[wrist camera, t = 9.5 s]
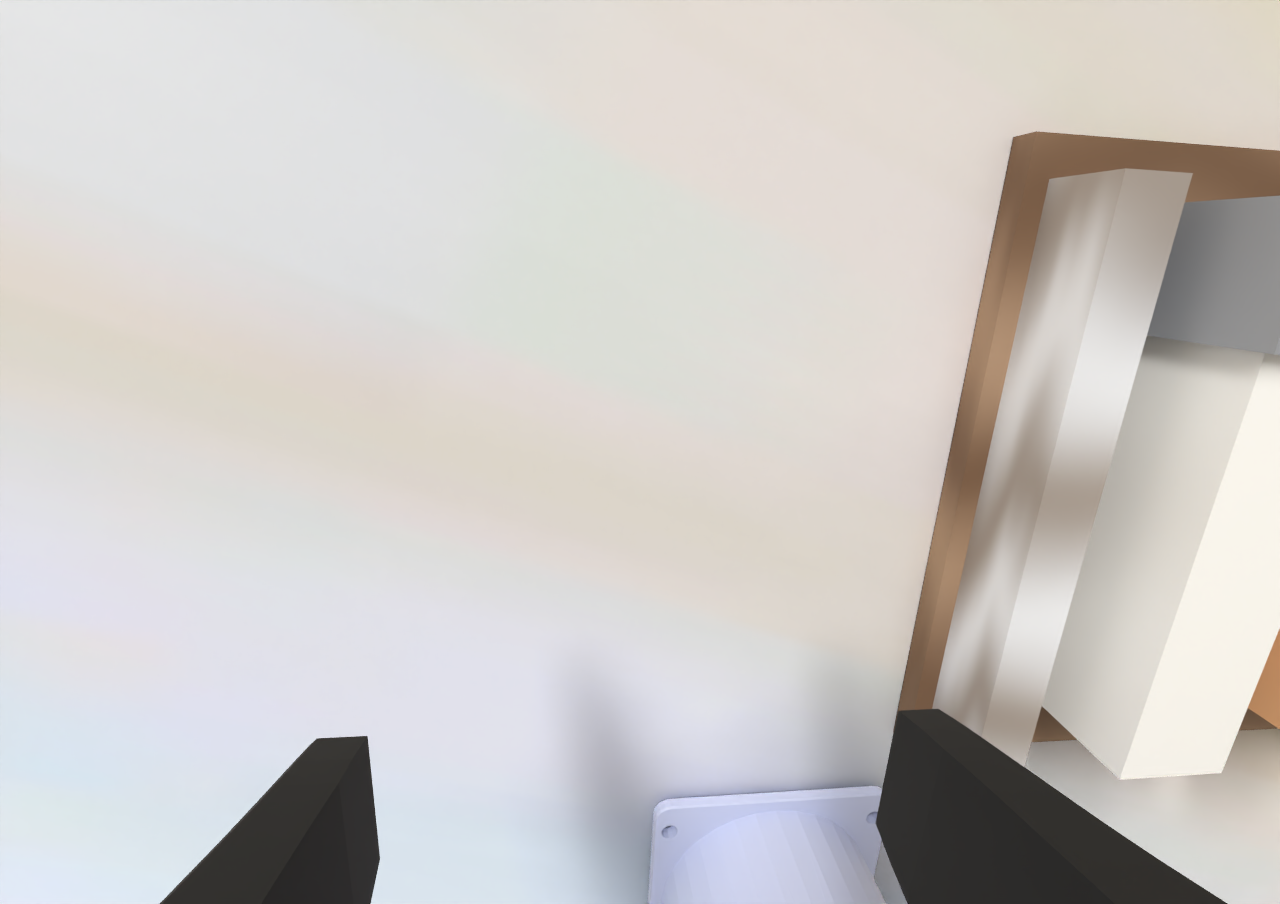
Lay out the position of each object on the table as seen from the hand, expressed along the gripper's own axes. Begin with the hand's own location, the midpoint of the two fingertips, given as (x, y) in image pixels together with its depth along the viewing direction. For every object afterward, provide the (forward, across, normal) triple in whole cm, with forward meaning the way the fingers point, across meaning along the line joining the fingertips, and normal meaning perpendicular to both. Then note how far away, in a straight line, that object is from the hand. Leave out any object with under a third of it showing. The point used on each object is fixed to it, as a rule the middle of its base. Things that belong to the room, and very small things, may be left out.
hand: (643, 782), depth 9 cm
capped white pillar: (+9, -15, -2) cm, 17 cm away
